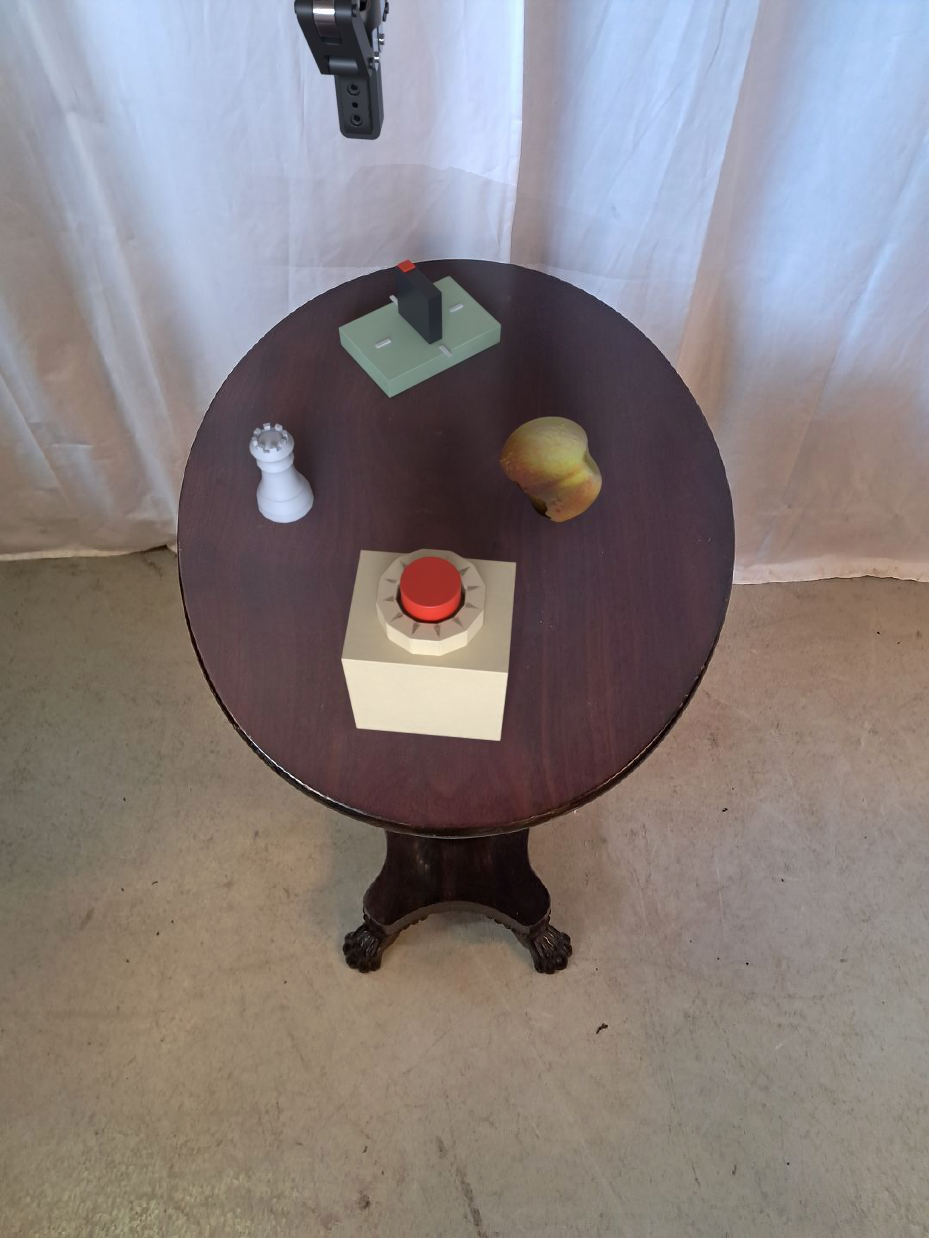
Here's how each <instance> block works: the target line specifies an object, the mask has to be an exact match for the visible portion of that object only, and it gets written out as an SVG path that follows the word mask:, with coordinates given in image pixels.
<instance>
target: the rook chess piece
mask: <svg viewBox="0 0 929 1238" xmlns="http://www.w3.org/2000/svg"><path fill="white" fill-rule="evenodd" d="M262 426H263V428H262V429H260V428H259V427H256V428H255V430H254V431H253V436H251V439H250V442H249V445H248V448H249V452H250V454H251V455H252V456H253V457H254V458H255V461H256V465H257V467H259V469H260V471H261V479H260V482H259V483H258V486H257V489H256V495H255V496H256V500H257V507H258V511H259V512H260V513H261V515H262V516H263V517H265V518H266V519H268V520H270V521H272V522H275V523H281V524H282V523H283V524H288V523H293V522H297V521H298V520H300V519H302V518H303V517H305V516H306V515H307V514H308V513H309V512H310V510H311V509H312V508H313V504H314V500H315V499H314V498H315V497H314V494H313V493H314V492H313V490H312V488H311V485H310V484H311V483H310V482H309V481H308V480H307V479H306V478H305V476H304V475H303V474H302V473H300V472H299V471H298V470H297V468H296V467H295V464H294V461H295V456H294V455H295V454H294V452H293V450H294V447H295V441H294V437H293V436H292V435H291V434H290V433H289V432H288V431H287V429H283V426H282V425H281V424H279V423H275V425H274V427H273V426H271V423H270V422H268V423H263V424H262Z"/></svg>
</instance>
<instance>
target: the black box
mask: <svg viewBox="0 0 929 1238" xmlns="http://www.w3.org/2000/svg"><path fill="white" fill-rule="evenodd" d="M394 270H395V282H396V283H395V285H396V299H397V301H398V313H399V314H400V315H401V316H402V317H403V318H404V319H405V320H406V321H407V322H408V323H409V324H410V325H411V326H412V327H413V328H414V329H415V330H416V331H417V332H418V333H419V334H420V335H421V336H422V337H423V338H424V340H425V341H426V342H427V343H428V344H432V343H434V342H436V341H438V340H440V339H442V292H441V291H440V290H439V289H438V288H437V287H436V286H435V285H434V284H433V283H434V282H432V281H431V280H430V279H429V278H428V277H427V276H426V275H424V274H423V272H422V271H420V270H419V268H418V267H417V266H416V265H415V264H414V263H413V262H412V261H411V260H410V259H406V260H404V261H401V262H399V263H397V265H395V268H394Z"/></svg>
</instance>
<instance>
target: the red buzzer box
mask: <svg viewBox="0 0 929 1238" xmlns="http://www.w3.org/2000/svg"><path fill="white" fill-rule="evenodd" d="M423 557H439V558H442V559H445V560H447V561H449V562H450V563H451V564H453V565H454V566H455V568H456V569H457V570H458V572H459V574H460V577H461V600H460V604H459V606H458V608H457V609H456V611H455V612H454V613H453V614H452V615H451V616H449V617H448V618H446V619H444V620H441V621H437V622H425V621H421V620H418V619H416V618H414V617H412V616H411V615H410V614H409V613H408V612H407V611H406V610H405V608H404V607H403V604H402V600H401V589H400V578H401V575H402V573H403V571H404V569H405V568H406V567H407V566H408V565H409V564H410V563H412V562H413V561H415V560H417V559H420V558H423ZM516 573H517V562H515V561H502V560H488V559H477V558H465V557H462V556H460V555H459V554H457V553H456V552H453V551H451V550H442V549H431V548H420V549H417V550H415V551H412V552H410V553H403V552H391V551H379V550H366V549H360V552H359V558H358V564H357V569H356V575H355V581H354V585H353V592H352V597H351V601H350V602H351V603H350V609H349V613H348V620H347V624H346V631H345V636H344V640H343V641H344V642H343V647H342V653H341V658H340V659H341V664H342V668H343V673H344V677H345V682H346V686H347V690H348V696H349V700H350V705H351V708H352V709H351V710H352V712H353V718H354V722H355V727H356V729H360V730H361V729H362V730H374V731H384V732H385V731H386V732H395V733H396V732H397V733H407V734H408V733H409V734H419V735H429V736H430V735H431V736H440V737H453V738H463V739H475V740H487V741H498V742H500V741H501V739H502V732H503V731H502V730H503V729H502V728H503V722H504V713H505V702H506V694H507V686H508V677H509V668H510V667H509V666H510V653H511V642H512V641H511V640H512V627H513V613H514V601H515V599H514V598H515V584H516Z"/></svg>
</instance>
